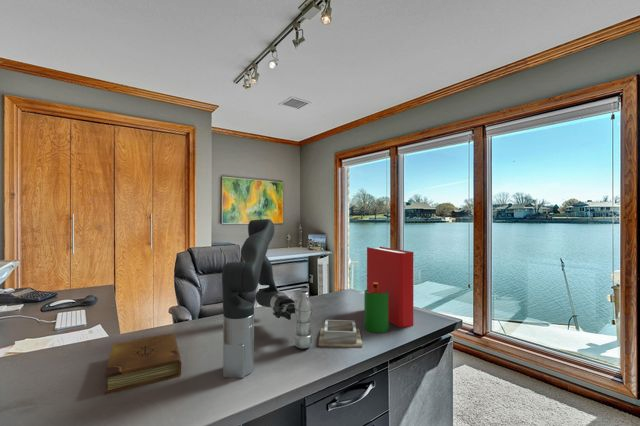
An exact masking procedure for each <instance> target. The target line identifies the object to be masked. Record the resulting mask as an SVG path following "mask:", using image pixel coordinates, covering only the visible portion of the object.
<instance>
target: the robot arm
mask: <svg viewBox="0 0 640 426" xmlns="http://www.w3.org/2000/svg"><path fill="white" fill-rule="evenodd" d="M247 232H248V237H246V239H245V241H244V243H243V244H242V246H241V249H240V256H241V258H242V260H243V261H241V262H237V261H235V262H233V261H232V262H230V261H229V262H227V263H225V264H224V266H223V269H222V270H221V272H222V273H221V288H222V310H223V311H222V313H223V314H222V317H223V318H222V320H223V321H222V323H223V325H222V375H223V378H239V379H244V378H245V377H246V376H248V375H250V374H251V373H252V372H253V371H254V369H255V367H254V366H255V364H254V363H255V359H254V358H255V356H254V355H255V345H254V344H255V305H254V304H253V303H252V302H251V301H248V300H245V299H244V298H242V297H240V296H239V295H237V293H238V294H239V293H253V292H254V291H256V289H257V288H258V285H260V286H268V287H266V288H261V289H259V290H258V291H257V292H256V293H255V301H256V302H257V304H258V305H259V306H261V307H265V308H266V307H267V308H271V309H272V315H273V316H275V317H276V318H277V319H281V317H282V318H283V319H286V320H289V321H291V320H292V315H296V314H295V304H296V302H295V301H294V300H293V298H291V297H289V296H287V295H286V294H282V293H280V292H279V290H278V288H277V285H276V283H275V279H274V274H273V273H274V272H273V266H272V263H271V261H270V259H269V258H268V257H267V256H266V255H267V253H268V249H269V245H270V243H271V241H272V239H273V238H274V234H275V224H274V222H273V220H272V219H269V218H265V219H264V218H263V219H251V220H249V222H248V225H247ZM311 315H312V311H311Z"/></svg>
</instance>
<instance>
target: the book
mask: <svg viewBox="0 0 640 426" xmlns="http://www.w3.org/2000/svg"><path fill="white" fill-rule="evenodd" d="M374 282H377V283H378V293H382V294H384V293H386V292H387V291H388V292H389V323H391V324H393V325H395V326H396V327H398V328H407V327H413V326H414V251H411V250H404V249H397V248H390V247H386V246H379V247H378V248H375V247H374V248H373V247H366V290H368V293H374V289H373V283H374Z"/></svg>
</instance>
